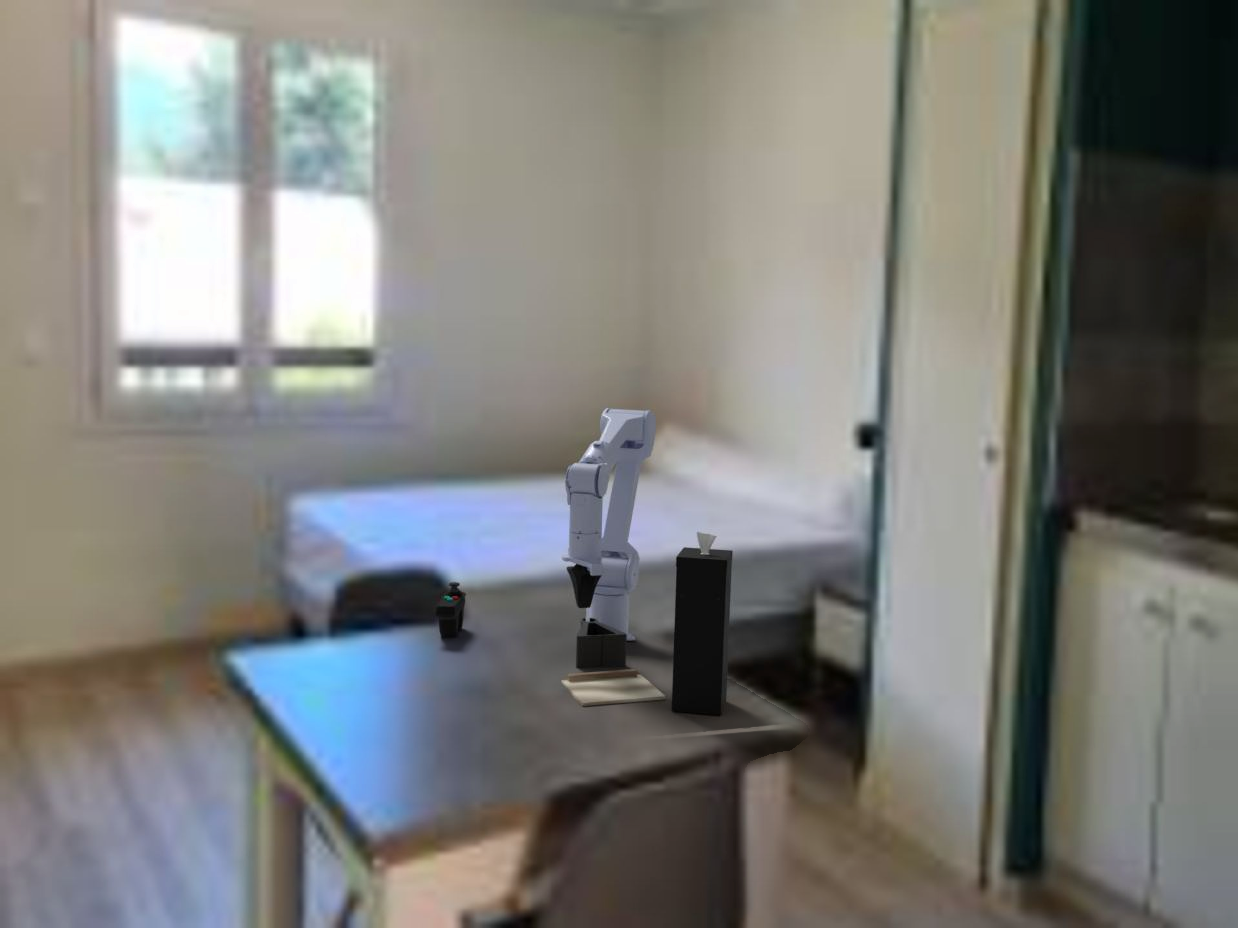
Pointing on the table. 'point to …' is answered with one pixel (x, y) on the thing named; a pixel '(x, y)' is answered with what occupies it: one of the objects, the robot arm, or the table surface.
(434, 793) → the table surface
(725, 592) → the tissue box
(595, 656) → the dark grey open container
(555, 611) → the table surface
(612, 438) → the robot arm
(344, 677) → the table surface
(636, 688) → the book stand
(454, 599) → the controller
